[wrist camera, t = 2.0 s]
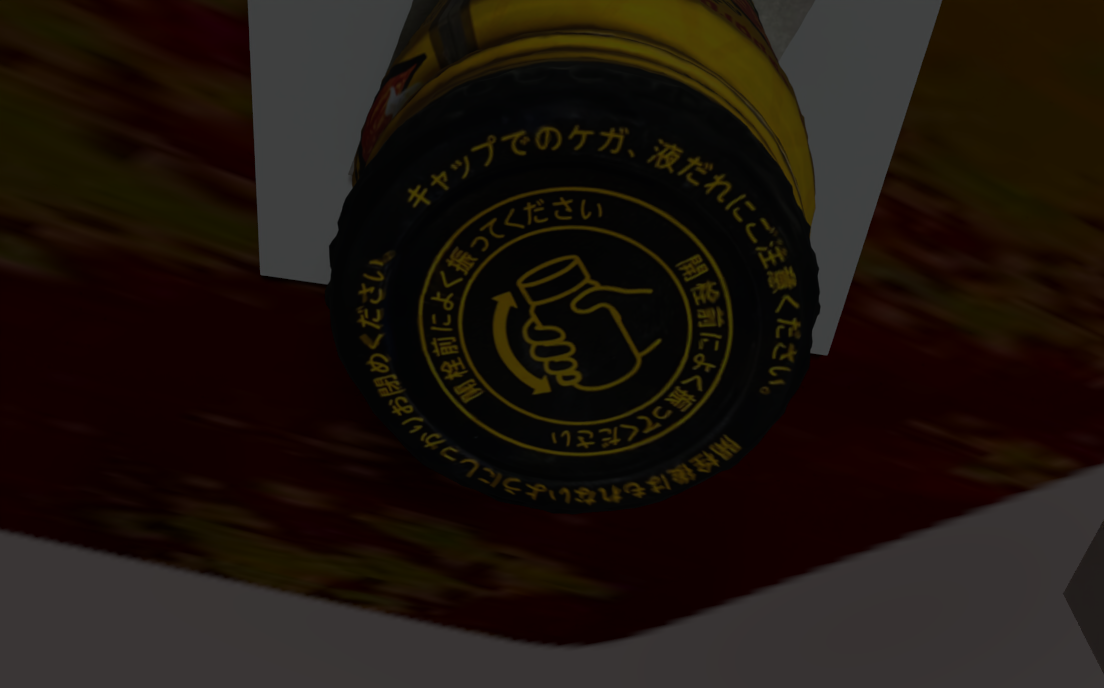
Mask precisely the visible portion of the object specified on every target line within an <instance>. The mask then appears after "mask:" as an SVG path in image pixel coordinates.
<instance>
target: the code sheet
mask: <svg viewBox="0 0 1104 688" xmlns="http://www.w3.org/2000/svg"><path fill="white" fill-rule="evenodd" d="M412 1H413V0H248V16H249V38H250V59H251V81H252V103H253V125H254V146H255V168H256V190H257V212H258V234H259V255H260V275H264V276H271V277H278V278H285V279H292V280H299V281H306V282H314V283H321V284H328V283H329V282H330V278H331V268H330V259H329V245H330V243H331V242H332V240H333V239H334V238H335V237H336V235H337V232H338V224H337V222H338V219H339V216H340V214H341V211H342V206H343V204H344V201H345V199H346V197H347V195H348V194H349V192H350V191H351V190H352V176H350V175H348V173H349V170H350V168H351V165H352V162H353V160H354V157H355V154H356V151H357V148H358V145H359V142H360V138H361V130H362V127H363V125H364V123H365V121H366V117H367V115H368V112H369V110H370V108H371V106H372V104H373V101H374V98H375V96H376V94H377V93H378V91H379V89H380V85H381V81H382V79H383V78H384V76H385V74H386V71H387V69H388V67H389V64H390V62H391V59H392V56H393V53H394V51H395V48H396V46H397V44H398V40H399V37H400V34H401V31H402V29H403V26H404V24H405V21H406V19H407V16H408V14H409V11H410V9H411V6H412ZM941 2H942V0H815V2H814V3H813V5H812V7H811V8H810V10H809V11H808V13H807V15H806V16H805V18H804V20H803V22H802V24H801V26H800V28H799V29H798V31H797V33H796V34H795V36H794V37H793V39H792V40H791V42H790V43H789V45H788V47H787V48H786V50H785V52H784V53H783V55H782V57H781V58H780V60H779V65H780V66H781V68H782V69H783V71H784V72H785V74H786V75H787V77H788V79H789V82H790V84H791V85H792V87H793V89H794V92H795V95H796V98H797V102H798V105H799V108H800V111H801V114H802V115H803V116H804V119H805V127H806V131H807V134H808V145H809V148H810V152H811V155H812V160H813V166H814V175H815V192H816V193H815V205H816V209H815V212H814V216H813V221H812V225H811V234H810V243H811V247H812V249H813V251H814V252H815V254H816V259H817V264H818V267H819V272H818V282H819V288H820V295H819V303H820V306H821V308H820V314H819V315H818V316H817V319H816V322H815V325H814V327H813V330H812V339H813V343H812V348H811V351H810V353H813V354H820V355H828V352H829V349H830V346H831V343H832V340H833V337H834V334H835V331H836V328H837V325H838V321H839V318H840V315H841V312H842V309H843V306H844V303H845V300H846V297H847V294H848V290H849V287H850V284H851V281H852V278H853V275H854V272H855V269H856V266H857V263H858V259H859V256H860V253H861V250H862V247H863V244H864V241H865V238H866V235H867V232H868V228H869V225H870V222H871V219H872V216H873V213H874V210H875V207H876V204H877V201H878V197H879V194H880V191H881V188H882V185H883V182H884V179H885V176H886V173H887V170H888V166H889V163H890V160H891V157H892V154H893V151H894V148H895V145H896V142H897V139H898V135H899V132H900V129H901V126H902V123H903V120H904V117H905V114H906V111H907V108H908V104H909V101H910V98H911V95H912V92H913V89H914V86H915V83H916V80H917V77H918V74H919V70H920V67H921V64H922V61H923V58H924V55H925V52H926V49H927V46H928V43H929V39H930V36H931V33H932V30H933V27H934V24H935V21H936V18H937V15H938V12H939V8H940V5H941Z"/></svg>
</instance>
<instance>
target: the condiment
mask: <svg viewBox="0 0 1104 688" xmlns="http://www.w3.org/2000/svg"><path fill="white" fill-rule="evenodd" d="M814 2H815V0H413V1H412V6H411V9H410V11H409V14H408V16H407V19H406V21H405V24H404V26H403V29H402V31H401V34H400V37H399V40H398V44H397V46H396V48H395V51H394V53H393V56H392V59H391V62H390V64H389V67H388V69H387V71H386V74H385V76H384V78H383V79H382V81H381V85H380V89H379V91H378V93H377V94H376V96H375V98H374V101H373V104H372V106H371V108H370V110H369V112H368V115H367V117H366V121H365V123H364V125H363V127H362V130H361V138H360V142H359V145H358V148H357V151H356V154H355V157H354V160H353V162H352V165H351V168H350V170H349V173H348V175H350V176H352V190H351V191H350V192H349V194H348V195H347V197H346V199H345V201H344V204H343V206H342V211H341V214H340V216H339V219H338V222H337V224H338V232H337V235H336V237H335V238H334V239H333V240H332V242H331V243H330V245H329V259H330V268H331V278H330V282H329V283H328V285H327V287H326V290H325V301H326V305H327V306H328V307H329V309H330V317H331V328H332V332H333V336H334V341H335V344H336V348H337V352H338V355H339V358H340V360H341V361H342V363H343V365H344V366H345V368H346V370H347V372H348V374H349V376H350V378H351V379H352V380H353V382H354V383H355V384H356V386H357V387H358V389H359V390H360V392H361V393H362V395H363V396H364V398H365V399H366V401H367V402H368V404H369V406H370V407H371V409H372V411H373V413H374V414H375V415H376V416H377V417H378V418H379V419H380V420H381V421H382V422H383V424H384V425H385V426H386V427H387V428H388V429H389V430H390V431H391V432H392V433H393V434H394V435H395V436H396V437H397V439H398V440H399V441H400V442H401V443H402V444H403V446H404V447H405V448H406V449H407V450H408V451H409V452H410V453H411V454H412V455H413V456H414V457H415V458H416V459H417V460H419V461H420V462H421V463H422V464H423V465H425V466H427V467H429V468H430V469H432V470H434V471H436V472H438V473H440V474H442V475H444V476H446V477H447V478H449V479H451V480H453V481H455V482H457V483H459V484H460V485H462V486H465V487H468V488H472V489H475V490H477V491H479V492H482V493H484V494H486V495H488V496H490V497H492V498H494V499H496V500H497V501H500V502H505V503H509V504H516V505H522V506H526V507H530V508H535V509H541V510H545V511H548V512H551V513H567V514H578V513H586V512H599V511H613V510H621V509H629V508H637V507H641V506H645V505H649V504H653V503H656V502H660V501H663V500H665V499H667V498H669V497H671V496H673V495H676V494H678V493H680V492H682V491H684V490H686V489H688V488H691V487H693V486H695V485H697V484H699V483H701V482H703V481H705V480H707V479H708V478H710V477H712V476H714V475H716V474H717V473H719V472H721V471H724V470H728V469H731V468H732V467H733V466H735V465H736V464H737V463H738V462H739V461H740V460H741V459H742V458H743V457H744V456H745V455H746V454H747V453H748V452H750V451H751V450H752V449H753V448H754V447H755V446H756V445H757V444H758V443H759V442H760V440H761V439H762V438H763V437H764V435H765V434H766V433H767V431H768V430H769V429H770V428H771V427H772V425H773V424H774V423H775V422H776V421H777V420H778V419H779V418H780V417H781V416H782V415H783V414H784V412H785V410H786V407H787V404H788V402H789V401H790V399H791V398H792V396H793V395H794V394H795V392H796V391H797V390H798V388H799V386H800V384H801V382H802V380H803V378H804V376H805V374H806V372H807V370H808V368H809V363H810V351H811V348H812V343H813V339H812V330H813V327H814V325H815V322H816V319H817V316H818V315H819V314H820V308H821V306H820V303H819V295H820V288H819V282H818V272H819V267H818V264H817V259H816V254H815V252H814V251H813V249H812V247H811V243H810V234H811V225H812V221H813V216H814V212H815V209H816V205H815V193H816V192H815V175H814V166H813V160H812V155H811V152H810V148H809V145H808V134H807V131H806V127H805V119H804V116H803V115H802V114H801V111H800V108H799V105H798V102H797V98H796V95H795V92H794V89H793V87H792V85H791V84H790V82H789V79H788V77H787V75H786V74H785V72H784V71H783V69H782V68H781V66H780V65H779V60H780V58H781V57H782V55H783V53H784V52H785V50H786V48H787V47H788V45H789V43H790V42H791V40H792V39H793V37H794V36H795V34H796V33H797V31H798V29H799V28H800V26H801V24H802V22H803V20H804V18H805V16H806V15H807V13H808V11H809V10H810V8H811V7H812V5H813V3H814Z"/></svg>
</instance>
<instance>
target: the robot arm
mask: <svg viewBox="0 0 1104 688" xmlns="http://www.w3.org/2000/svg"><path fill="white" fill-rule="evenodd" d="M1063 594H1064V596H1065V598H1066V600H1067V602H1068V604H1069V606H1070V608H1071V610H1072V612H1073V614H1074V616H1075V618H1076V620H1077V622H1078V624H1079V626H1080V628H1081V630H1082V632H1083V634H1084V636H1085V638H1086V640H1087V642H1088V644H1089V646H1090V648H1091V649H1092V651H1093V654H1094V656H1095V657H1096V660H1097V662H1098V663H1099V665H1100V667H1101V669H1102V671H1103V673H1104V521H1103V522H1102V524H1101V526H1100V528H1099V530H1098V532H1097V533H1096V536H1095V537H1094V539H1093V541H1092V543H1091V544H1090V546H1089V548H1088V550H1087V551H1086V554H1085V555H1084V557H1083V559H1082V561H1081V563H1080V564H1079V566H1078V568H1077V570H1076V571H1075V573H1074V575H1073V577H1072V579H1071V581H1070V583H1069V584H1068V586H1067V588H1066V590H1065V592H1064V593H1063Z"/></svg>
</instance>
